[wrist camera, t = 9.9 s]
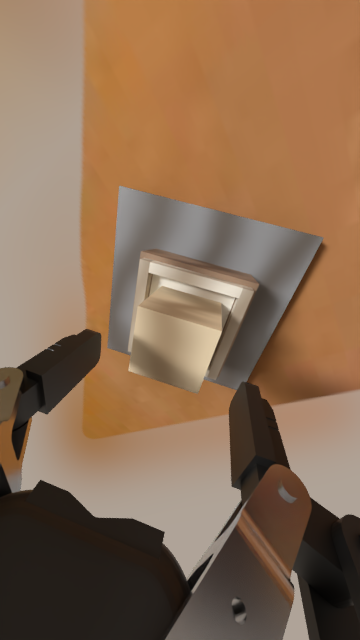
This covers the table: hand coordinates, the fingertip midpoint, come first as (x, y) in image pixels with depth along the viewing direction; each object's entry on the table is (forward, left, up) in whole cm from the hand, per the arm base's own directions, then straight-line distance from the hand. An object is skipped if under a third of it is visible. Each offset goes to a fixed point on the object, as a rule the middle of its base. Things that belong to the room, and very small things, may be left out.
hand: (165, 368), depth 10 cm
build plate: (0, 0, -12) cm, 12 cm away
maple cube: (0, 0, -7) cm, 7 cm away
